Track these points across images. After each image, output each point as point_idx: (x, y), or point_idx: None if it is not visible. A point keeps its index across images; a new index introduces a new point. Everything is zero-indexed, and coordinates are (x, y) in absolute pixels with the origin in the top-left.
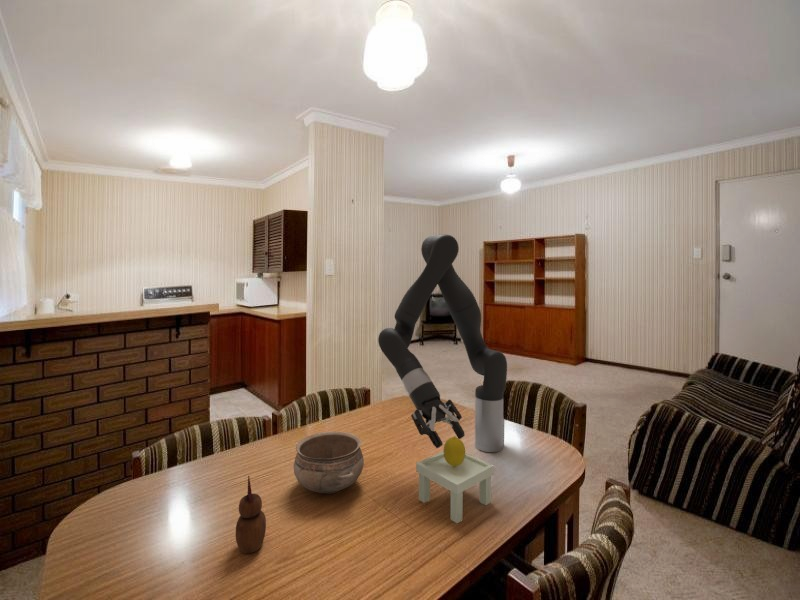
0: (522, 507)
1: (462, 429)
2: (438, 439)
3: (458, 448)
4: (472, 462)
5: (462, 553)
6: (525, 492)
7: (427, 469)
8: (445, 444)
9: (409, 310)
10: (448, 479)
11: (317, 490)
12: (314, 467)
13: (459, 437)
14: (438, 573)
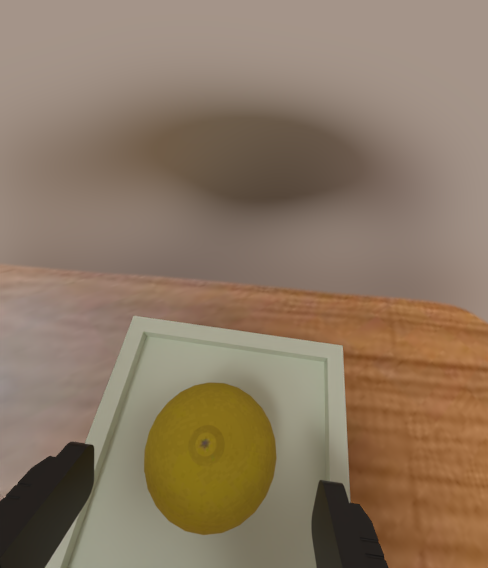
0: (143, 302)
1: (17, 486)
2: (351, 519)
3: (242, 392)
4: (129, 411)
5: (367, 326)
6: (70, 321)
7: None
8: (257, 498)
9: None
10: (341, 391)
11: None
12: None
13: (89, 485)
14: (441, 331)
